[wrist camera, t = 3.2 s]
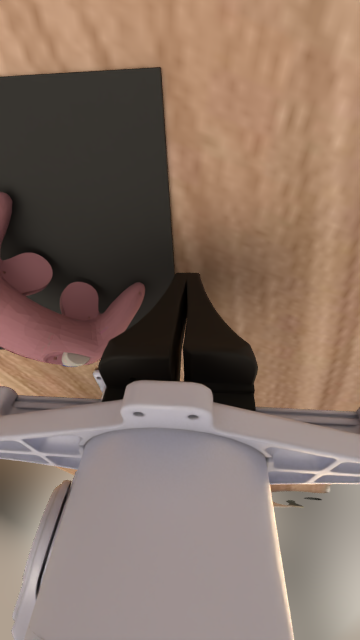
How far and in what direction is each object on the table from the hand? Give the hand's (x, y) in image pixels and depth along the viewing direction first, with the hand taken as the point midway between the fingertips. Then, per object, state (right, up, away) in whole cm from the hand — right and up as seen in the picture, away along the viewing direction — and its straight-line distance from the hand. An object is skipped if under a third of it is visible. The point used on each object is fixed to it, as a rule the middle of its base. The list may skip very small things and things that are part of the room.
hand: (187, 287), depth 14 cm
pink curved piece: (-8, +1, +2) cm, 8 cm away
